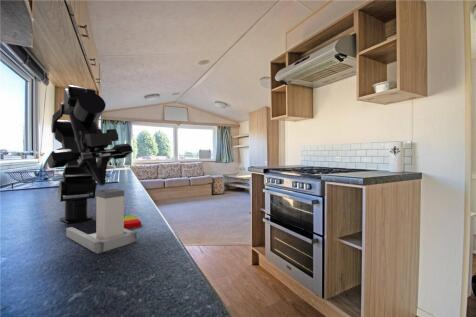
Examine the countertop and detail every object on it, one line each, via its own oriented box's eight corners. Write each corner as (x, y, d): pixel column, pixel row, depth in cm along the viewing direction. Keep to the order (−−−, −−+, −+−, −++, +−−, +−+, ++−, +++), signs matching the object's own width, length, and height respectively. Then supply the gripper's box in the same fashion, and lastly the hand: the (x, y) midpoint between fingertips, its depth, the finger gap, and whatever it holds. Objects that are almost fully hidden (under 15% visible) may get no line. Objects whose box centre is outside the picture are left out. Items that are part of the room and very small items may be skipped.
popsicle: (120, 232, 61) (120, 224, 61) (110, 219, 73) (110, 213, 73) (142, 228, 65) (142, 221, 64) (129, 216, 76) (129, 210, 76)
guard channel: (66, 236, 56) (66, 228, 56) (103, 227, 63) (103, 220, 63) (97, 253, 47) (97, 243, 47) (136, 241, 54) (136, 232, 53)
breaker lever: (95, 241, 52) (96, 190, 51) (114, 236, 55) (114, 188, 55) (104, 245, 49) (105, 192, 49) (123, 240, 53) (124, 190, 52)
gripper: (49, 117, 50) (68, 186, 49) (132, 117, 65) (149, 170, 63) (40, 137, 57) (56, 197, 56) (117, 132, 72) (132, 180, 70)
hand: (102, 185), depth 61 cm, fingers closed
